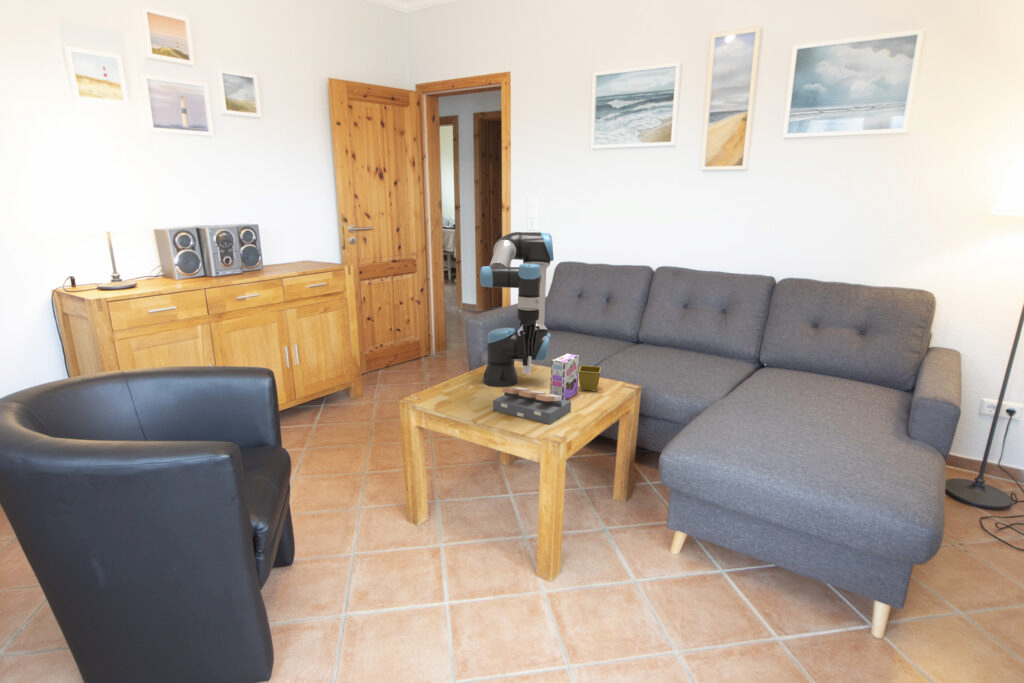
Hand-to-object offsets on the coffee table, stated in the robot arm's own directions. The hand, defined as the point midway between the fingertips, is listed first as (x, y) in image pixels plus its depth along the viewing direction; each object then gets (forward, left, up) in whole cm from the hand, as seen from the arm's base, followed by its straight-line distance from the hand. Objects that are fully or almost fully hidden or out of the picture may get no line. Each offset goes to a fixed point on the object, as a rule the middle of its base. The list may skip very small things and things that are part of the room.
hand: (526, 373), depth 200 cm
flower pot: (+6, +42, -16) cm, 45 cm away
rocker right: (+7, +5, -9) cm, 12 cm away
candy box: (+2, +27, -16) cm, 31 cm away
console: (0, +5, -16) cm, 16 cm away
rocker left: (-7, +5, -9) cm, 12 cm away
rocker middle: (0, +5, -9) cm, 10 cm away
